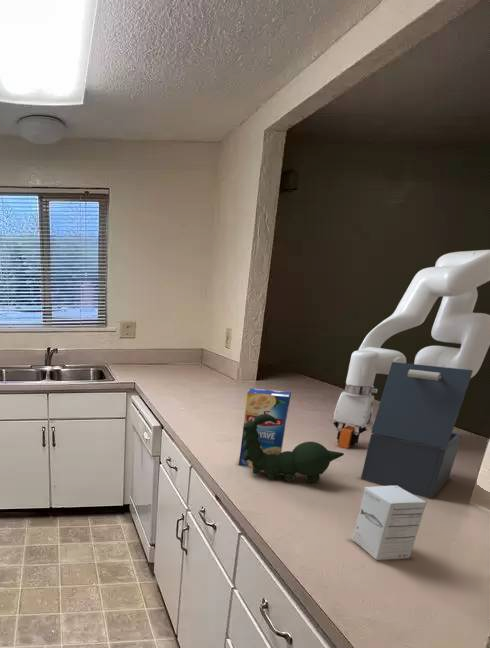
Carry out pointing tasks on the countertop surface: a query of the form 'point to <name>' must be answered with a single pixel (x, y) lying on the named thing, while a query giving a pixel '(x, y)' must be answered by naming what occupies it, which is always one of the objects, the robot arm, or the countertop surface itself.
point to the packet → (346, 436)
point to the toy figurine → (285, 455)
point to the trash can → (409, 464)
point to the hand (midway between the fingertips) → (346, 443)
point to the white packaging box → (388, 522)
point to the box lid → (421, 403)
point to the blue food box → (268, 431)
